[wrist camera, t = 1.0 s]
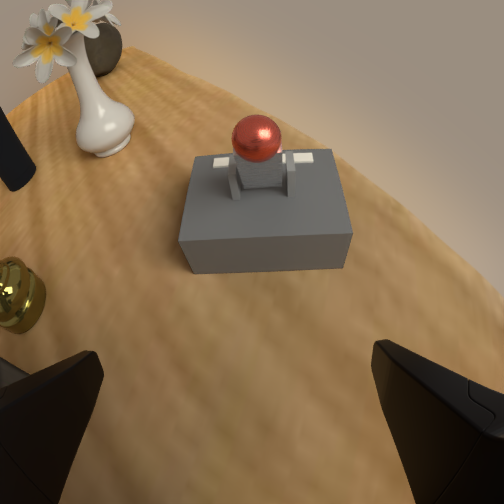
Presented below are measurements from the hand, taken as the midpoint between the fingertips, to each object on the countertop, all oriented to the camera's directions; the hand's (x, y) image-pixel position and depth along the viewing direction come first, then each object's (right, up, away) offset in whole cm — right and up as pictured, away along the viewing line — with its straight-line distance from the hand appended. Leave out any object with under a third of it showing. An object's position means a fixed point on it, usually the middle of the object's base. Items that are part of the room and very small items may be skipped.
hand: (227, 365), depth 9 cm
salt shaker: (-24, -3, +18) cm, 31 cm away
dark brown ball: (-38, +50, +55) cm, 84 cm away
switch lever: (+2, +9, +15) cm, 18 cm away
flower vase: (-20, +19, +32) cm, 42 cm away
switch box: (+2, +6, +20) cm, 21 cm away
